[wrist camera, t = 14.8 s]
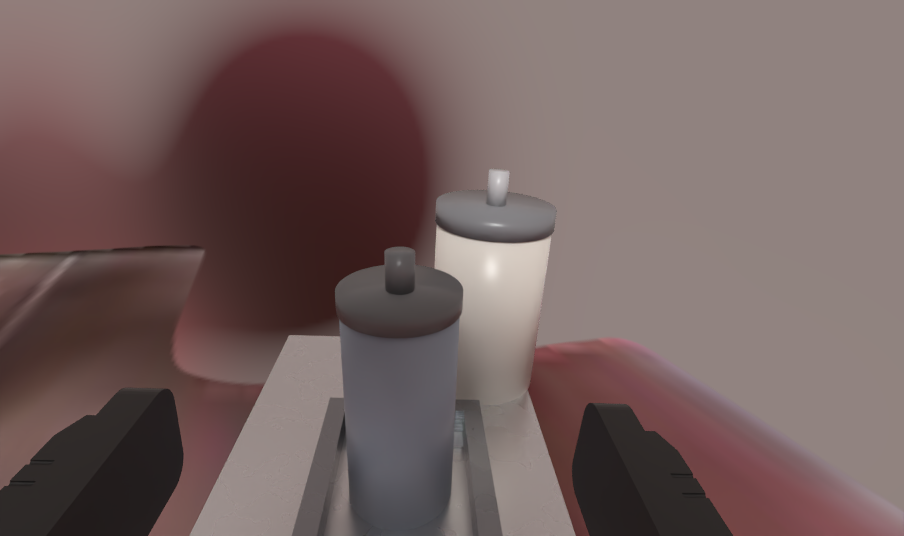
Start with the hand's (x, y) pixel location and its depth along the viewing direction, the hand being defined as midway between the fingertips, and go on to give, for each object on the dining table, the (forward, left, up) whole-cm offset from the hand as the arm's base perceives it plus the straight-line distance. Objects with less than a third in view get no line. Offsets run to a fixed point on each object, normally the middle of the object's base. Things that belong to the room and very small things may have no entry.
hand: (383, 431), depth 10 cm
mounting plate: (0, +15, -14) cm, 20 cm away
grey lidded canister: (0, +11, -13) cm, 16 cm away
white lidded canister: (+5, +21, -13) cm, 25 cm away
